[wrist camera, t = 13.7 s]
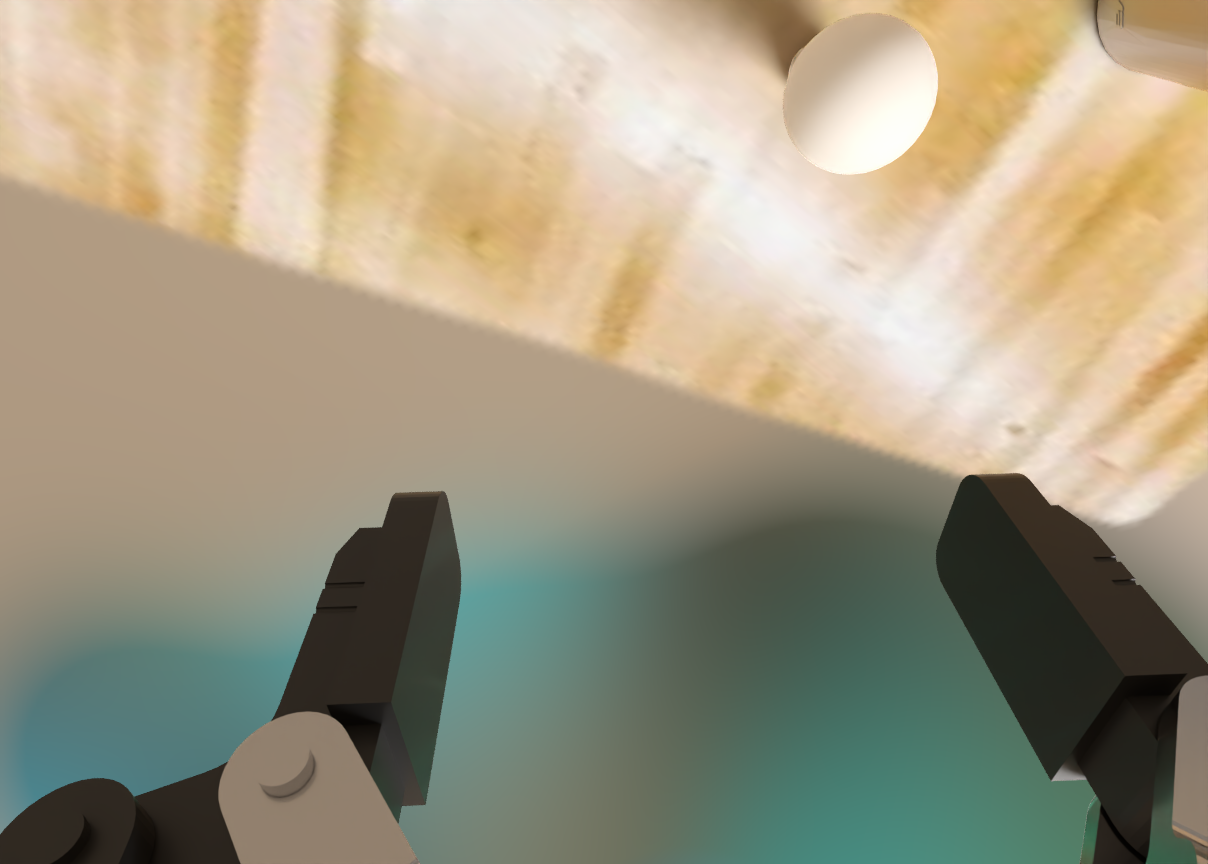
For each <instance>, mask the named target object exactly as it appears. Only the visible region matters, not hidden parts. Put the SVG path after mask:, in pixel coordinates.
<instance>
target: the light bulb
mask: <svg viewBox="0 0 1208 864" xmlns="http://www.w3.org/2000/svg"><path fill="white" fill-rule="evenodd" d="M788 73H789V76H788V78H787V82H786V86H785V90H784V97H783V115H784V123H785V126H786V129H787V132H788V135H789V137H790V139H791V140H792V142H793V144H794V145H795V147H796V149H797V150H798V151H799V152H800V154H801V155H802V156H803V157H804V158H805V159H806V160H808V161H809V162H811V163H813V164H814V165H816V166H817V167H819V168H821V169H823V170H826V171H829V172H832V173H838V174H860V173H866V172H870V171H873V170H877V169H879V168H881V167H883V166H885V165H887V164H889V163H891V162H892V161H894V160H895V159H897V158H898V157H900V156H901V155H902V154H903V153H904V152H905V151H906V150H907V149H909V148H910V147H911V146H912V145H913V144H914V142H915V141H916V140H917V138H918V137H919V136H920V134H921V133H922V132H923V130H924V128H925V126H926V125H927V123H928V121H929V119H930V117H931V114H932V111H933V108H934V106H935V102H936V96H937V91H938V73H937V68H936V63H935V59H934V57H933V54H932V52H931V50H930V47H929V45H928V43H927V42H926V40H925V39H924V38H923V37H922V35H921V34H920V33H919V32H918V31H917V30H916V29H914V28H913V27H912V26H910V25H909V24H908V23H906V22H905V21H903V20H901V19H898V18H896V17H894V16H891V15H886V14H879V13H867V14H856V15H853V16H849V17H846V18H843V19H840V20H838V21H837V22H835V23H833V24H831V25H829V26H827V27H826V28H825V29H823V30H822V31H821V32H820V33H818V34H817V35H816V36H815V37H813V39H812V40H811V41H810V42H809V43H808V44H807V45H806V46H805V47H803V48H800V49H799V51H798V52H797V53H796V55H795V56H794V57H793V59H792V61H791V65H790V68H789V71H788Z"/></svg>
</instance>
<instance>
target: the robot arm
mask: <svg viewBox="0 0 1208 864" xmlns="http://www.w3.org/2000/svg"><path fill="white" fill-rule="evenodd" d="M1097 22H1098V28H1099V35H1100V38H1101V40H1102V43H1103V45H1104V47H1105V49H1106V51H1107V52H1108V54H1109V55H1110V56H1111V57H1112V58H1113V59H1114V60H1115V62H1116V63H1118V64H1120V65H1122V66H1123V67H1125V68H1127V69H1129V70H1132V71H1135V72H1139V73H1143V74H1146V75H1150V76H1153V77H1157V78H1161V79H1164V80H1168V81H1172V82H1175V83H1178V84H1182V85H1185V86H1188V87H1192V88H1196V89H1199V90H1203V91H1207V92H1208V0H1098V11H1097ZM936 564H937V571H938V575H939V578H940V581H941V583H942V585H943V587H944V589H945V591H946V592H947V594H948V596H949V598H950V599H951V601H952V603H953V605H954V606H955V608H956V610H957V612H958V614H959V616H960V618H961V619H962V621H963V623H964V625H965V627H966V628H967V630H968V632H969V634H970V636H971V637H972V639H973V641H974V643H975V645H976V646H977V648H978V650H979V652H980V653H981V655H982V657H983V659H984V660H985V663H986V664H987V666H988V668H989V670H990V672H991V673H992V675H993V677H994V679H995V680H996V682H997V684H998V686H999V688H1000V690H1001V692H1002V693H1003V695H1004V697H1005V699H1006V700H1007V702H1008V704H1009V706H1010V708H1011V710H1012V711H1013V713H1014V715H1015V717H1016V718H1017V720H1018V722H1019V724H1020V726H1021V728H1022V729H1023V731H1024V733H1025V735H1026V736H1027V738H1028V740H1029V742H1030V744H1031V746H1032V747H1033V749H1034V751H1035V753H1036V755H1037V756H1038V758H1039V760H1040V762H1041V763H1042V765H1043V767H1044V769H1045V771H1046V773H1047V774H1048V776H1049V778H1050V780H1051V781H1064V780H1087V781H1088V782H1089V784H1090V786H1091V787H1092V789H1093V791H1094V792H1095V794H1096V796H1095V797H1094V798H1093V800H1092V801H1091V803H1090V805H1089V808H1088V812H1087V819H1086V825H1085V832H1084V839H1083V845H1082V852H1081V858H1080V864H1208V664H1207V662H1206V661H1205V660H1204V659H1203V658H1202V657H1201V655H1200V654H1199V653H1198V652H1197V651H1196V650H1195V648H1194V647H1193V646H1192V645H1191V644H1190V643H1189V641H1188V640H1187V639H1186V638H1185V637H1184V635H1183V634H1182V633H1181V632H1180V631H1179V630H1178V628H1177V627H1176V626H1175V625H1174V624H1173V623H1172V621H1171V620H1170V619H1169V618H1168V617H1167V616H1166V615H1165V613H1164V612H1163V611H1162V610H1161V609H1160V607H1159V606H1158V605H1157V604H1156V603H1155V602H1154V600H1153V599H1152V598H1151V597H1150V596H1149V594H1148V593H1147V592H1146V591H1145V590H1144V589H1143V587H1142V586H1141V585H1136V583H1135V578H1134V577H1133V576H1132V575H1131V573H1130V572H1129V571H1128V570H1127V569H1126V567H1125V566H1124V565H1123V564H1122V563H1121V562H1117V561H1116V556H1115V554H1114V553H1113V552H1112V551H1111V550H1110V549H1109V548H1108V546H1107V545H1106V544H1105V543H1104V542H1103V540H1102V539H1101V538H1100V537H1099V536H1098V535H1097V533H1096V532H1095V531H1094V530H1093V529H1092V528H1091V527H1089V526H1088V525H1086V524H1085V523H1084V522H1082V521H1081V520H1079V519H1078V518H1076V517H1075V516H1073V515H1072V514H1071V513H1069V512H1068V511H1066V510H1065V509H1063V508H1062V507H1060V506H1059V505H1052V506H1051V505H1050V504H1049V503H1048V502H1047V500H1046V499H1045V498H1044V497H1043V495H1042V494H1041V493H1040V492H1039V491H1038V489H1037V488H1036V487H1035V486H1034V484H1033V483H1032V482H1031V481H1030V480H1029V479H1028V478H1027V477H1026V476H1024V475H1022V474H1019V473H1009V474H980V475H968V476H966V477H965V478H964V479H963V480H962V482H961V483H960V486H959V488H958V491H957V493H956V496H955V499H954V502H953V504H952V507H951V510H950V512H949V515H948V518H947V520H946V523H945V526H944V529H943V531H942V534H941V536H940V539H939V542H938V545H937V550H936ZM460 594H461V568H460V559H459V554H458V549H457V544H456V539H455V533H454V528H453V523H452V519H451V513H450V508H449V503H448V499H447V495H446V493H445V492H443V491H438V492H412V493H411V492H409V493H395V494H394V495H393V497H392V499H391V501H390V504H389V507H388V511H387V514H386V517H385V520H384V524H383V526H382V528H381V527H380V528H359V529H358V530H357V532H356V533H355V534H354V535H353V536H352V537H351V538H350V539H349V540H348V541H347V543H346V544H345V545H344V546H343V547H342V548H341V549H340V550H339V551H338V553H337V554H336V555H335V558H334V561H333V563H332V566H331V569H330V572H329V574H328V577H327V579H326V582H325V589H323V590H322V593H321V595H320V598H319V601H318V603H317V606H316V614H313V617H312V619H311V622H310V625H309V628H308V630H307V633H306V635H305V638H304V641H303V644H302V646H301V649H300V652H299V654H298V657H297V659H296V662H295V665H294V667H293V670H292V673H291V675H290V678H289V681H288V683H287V686H286V689H285V691H284V694H283V697H282V699H281V702H280V705H279V707H278V709H277V711H276V713H275V716H274V717H273V719H272V721H271V722H269V723H267V724H265V725H264V726H262V727H261V728H259V729H258V730H256V731H255V732H254V733H252V734H251V735H250V736H249V737H248V738H247V739H246V740H244V742H243V743H242V744H241V745H240V746H239V747H238V748H237V749H236V751H235V752H234V753H233V755H232V756H231V758H230V759H229V761H228V762H226V763H224V764H223V765H221V766H219V767H217V768H215V769H212V770H210V771H207V772H205V773H202V774H199V775H196V776H193V777H191V778H188V779H185V780H182V781H179V782H176V783H173V784H170V785H167V786H164V787H162V788H159V789H156V790H153V791H150V792H147V793H144V794H141V795H138V796H135V797H134V796H133V795H132V793H131V792H130V791H129V790H128V789H127V788H126V787H125V786H124V785H122V784H121V783H119V782H116V781H114V780H110V779H104V778H94V779H87V780H81V781H78V782H74V783H71V784H68V785H66V786H64V787H61V788H59V789H56V790H54V791H53V792H51V793H49V794H47V795H45V796H44V797H42V798H41V799H39V800H38V801H36V802H35V803H33V804H32V805H30V806H29V807H28V808H27V809H25V810H24V811H23V812H22V813H21V814H20V815H18V816H17V817H16V818H15V819H14V820H13V821H12V822H11V823H10V824H9V825H8V826H7V827H6V828H5V829H4V831H3V832H2V833H1V834H0V864H420V862H419V861H418V859H417V857H416V855H415V854H414V852H413V850H412V848H411V847H410V845H409V843H408V841H407V839H406V838H405V836H404V834H403V832H402V830H401V829H400V827H399V825H398V823H399V818H400V813H401V807H402V806H411V805H425V804H426V799H427V793H428V787H429V781H430V775H431V769H432V763H433V757H434V751H435V745H436V738H437V733H438V727H439V721H440V715H441V709H442V703H443V697H444V691H445V685H446V680H447V674H448V668H449V662H450V655H451V650H452V644H453V638H454V631H455V626H456V619H457V614H458V608H459V602H460Z"/></svg>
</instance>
